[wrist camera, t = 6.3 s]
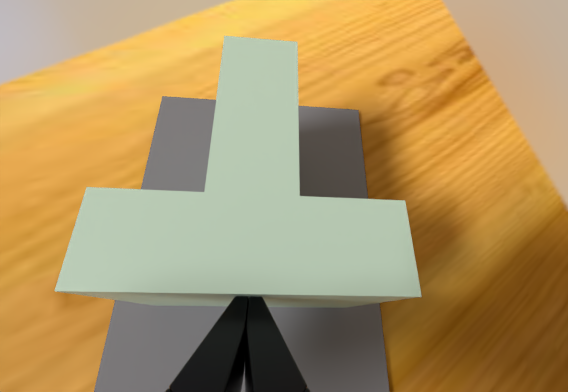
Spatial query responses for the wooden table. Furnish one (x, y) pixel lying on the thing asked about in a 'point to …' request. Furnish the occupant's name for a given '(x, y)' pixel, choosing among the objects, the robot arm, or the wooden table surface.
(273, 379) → the robot arm
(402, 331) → the wooden table surface
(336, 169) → the mat
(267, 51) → the t block
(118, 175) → the wooden table surface
